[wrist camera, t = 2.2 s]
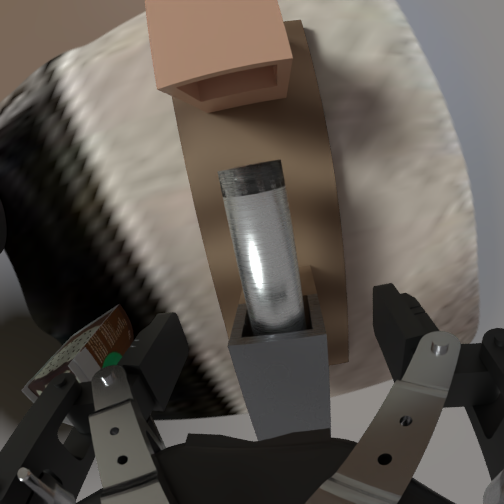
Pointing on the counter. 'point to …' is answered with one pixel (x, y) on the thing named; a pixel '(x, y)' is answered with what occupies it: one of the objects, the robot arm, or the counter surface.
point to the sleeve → (283, 375)
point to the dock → (296, 180)
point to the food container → (86, 352)
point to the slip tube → (264, 246)
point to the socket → (219, 51)
